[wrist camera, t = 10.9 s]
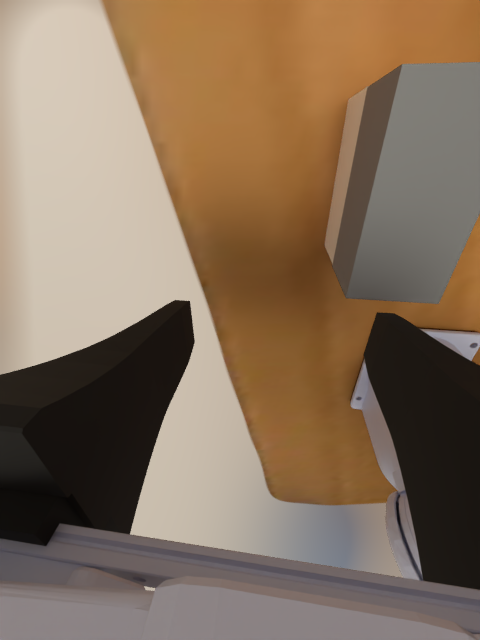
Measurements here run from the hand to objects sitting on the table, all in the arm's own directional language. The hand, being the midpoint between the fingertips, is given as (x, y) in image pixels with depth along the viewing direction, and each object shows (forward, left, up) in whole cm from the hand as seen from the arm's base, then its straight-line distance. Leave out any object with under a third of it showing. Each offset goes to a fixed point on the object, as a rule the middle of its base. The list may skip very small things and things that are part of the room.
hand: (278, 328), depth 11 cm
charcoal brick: (+4, -5, -7) cm, 9 cm away
